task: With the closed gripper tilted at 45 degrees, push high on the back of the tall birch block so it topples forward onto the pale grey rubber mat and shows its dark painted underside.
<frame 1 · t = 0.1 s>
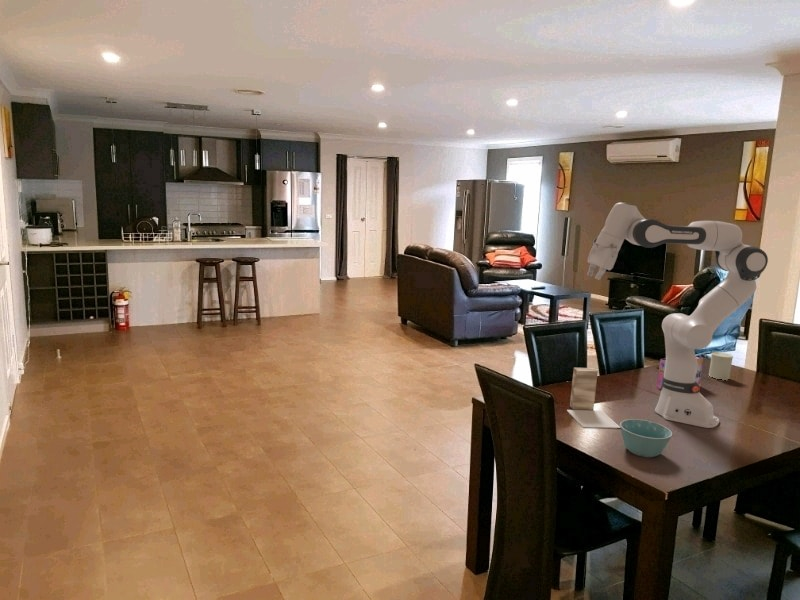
hand: (593, 277, 222), 52 cm above the table, tool tilted 20°, fingers open, 8 cm apart
birch block: (581, 408, 231), on the table
can: (718, 378, 285), on the table
bowl: (642, 452, 193), on the table
mat: (592, 419, 220), on the table
gum box: (678, 387, 267), on the table
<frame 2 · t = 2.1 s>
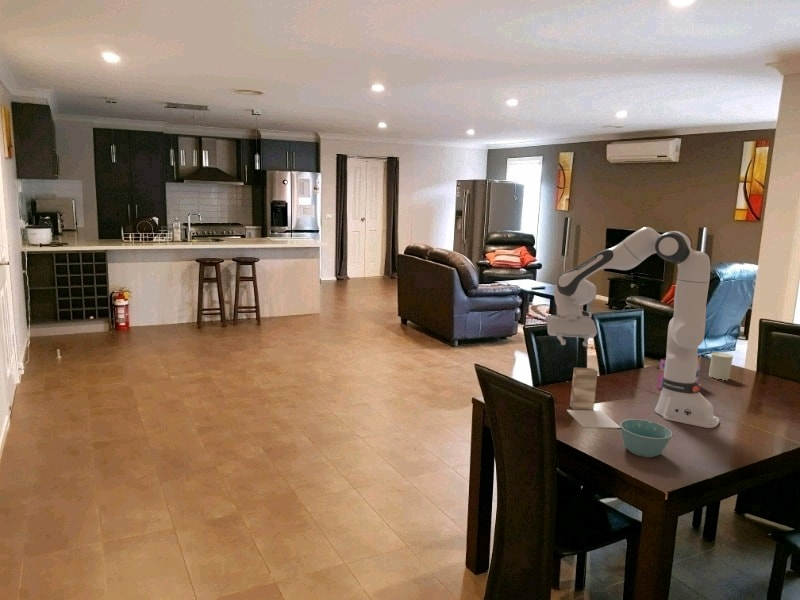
hand: (574, 344, 239), 23 cm above the table, tool tilted 45°, fingers open, 8 cm apart
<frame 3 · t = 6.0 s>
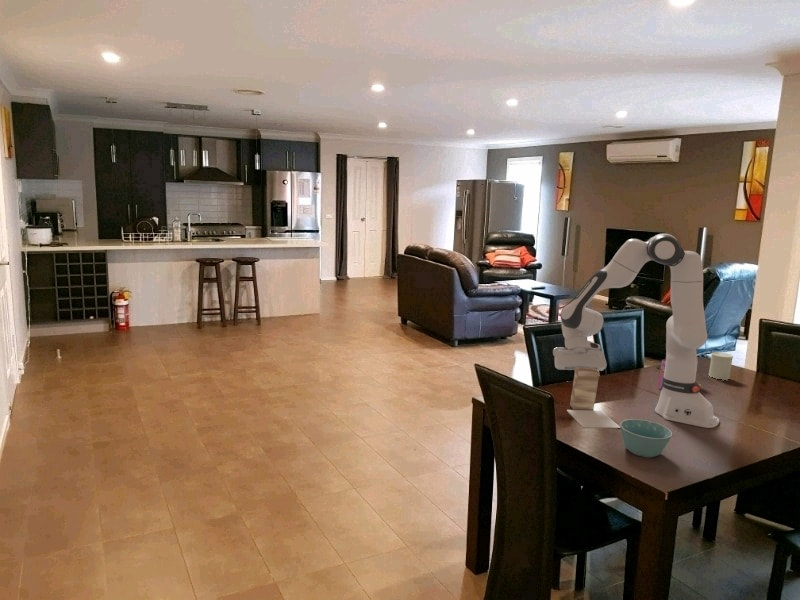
hand: (583, 378, 230), 12 cm above the table, tool tilted 45°, fingers closed
birch block: (581, 408, 231), on the table, tilted 6°
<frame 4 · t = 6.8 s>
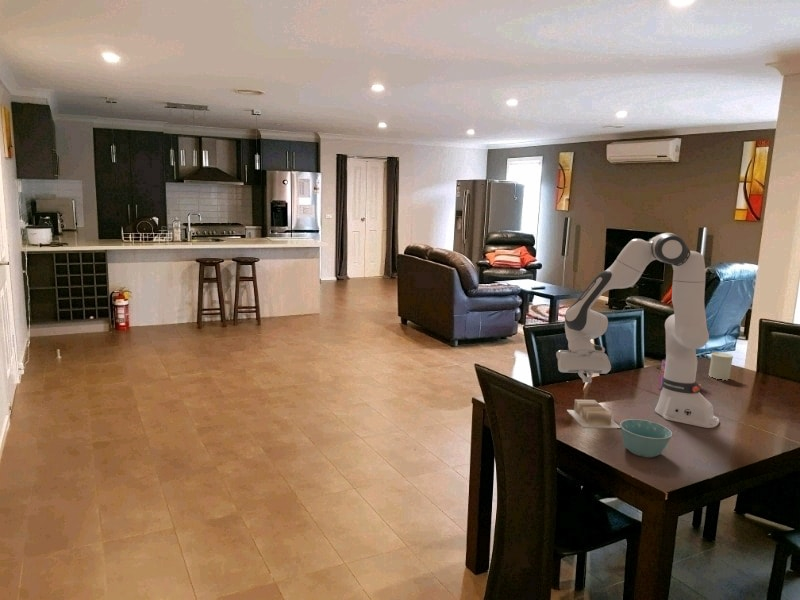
hand: (587, 381, 226), 12 cm above the table, tool tilted 45°, fingers closed
birch block: (584, 404, 229), point 2 cm above the table, tilted 90°, touching mat
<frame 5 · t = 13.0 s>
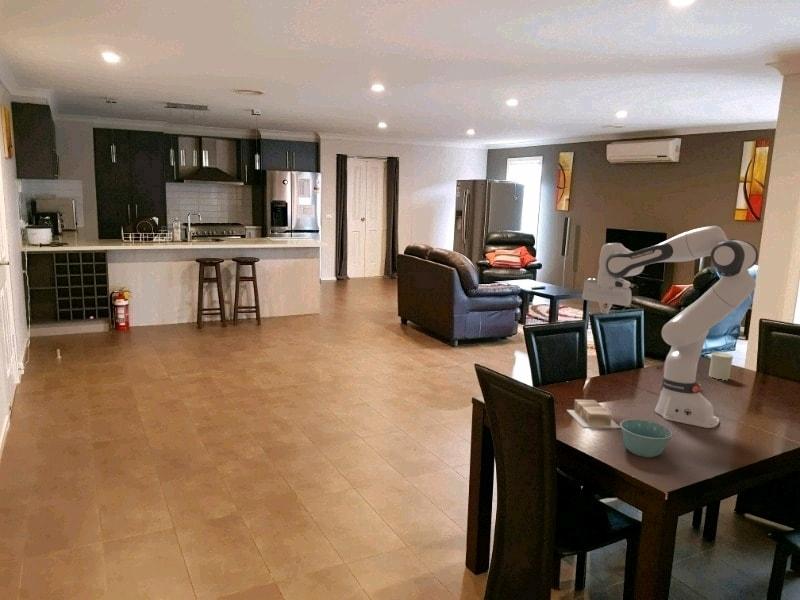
hand: (604, 313, 250), 34 cm above the table, tool pointing down, fingers closed
at the end: birch block tilted 90°; birch block touching mat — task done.
